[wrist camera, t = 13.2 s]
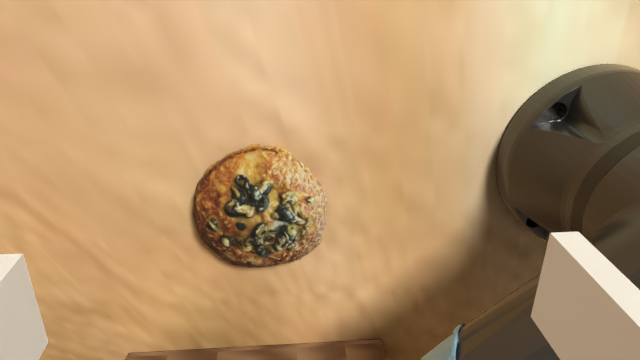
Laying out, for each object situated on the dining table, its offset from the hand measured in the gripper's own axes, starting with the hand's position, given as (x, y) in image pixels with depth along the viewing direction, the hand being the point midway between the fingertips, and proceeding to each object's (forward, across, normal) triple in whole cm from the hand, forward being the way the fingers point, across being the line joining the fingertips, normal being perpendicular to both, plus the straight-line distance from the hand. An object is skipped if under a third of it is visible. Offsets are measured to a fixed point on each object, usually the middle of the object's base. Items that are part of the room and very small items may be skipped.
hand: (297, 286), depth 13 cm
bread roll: (+27, +2, +12) cm, 30 cm away
